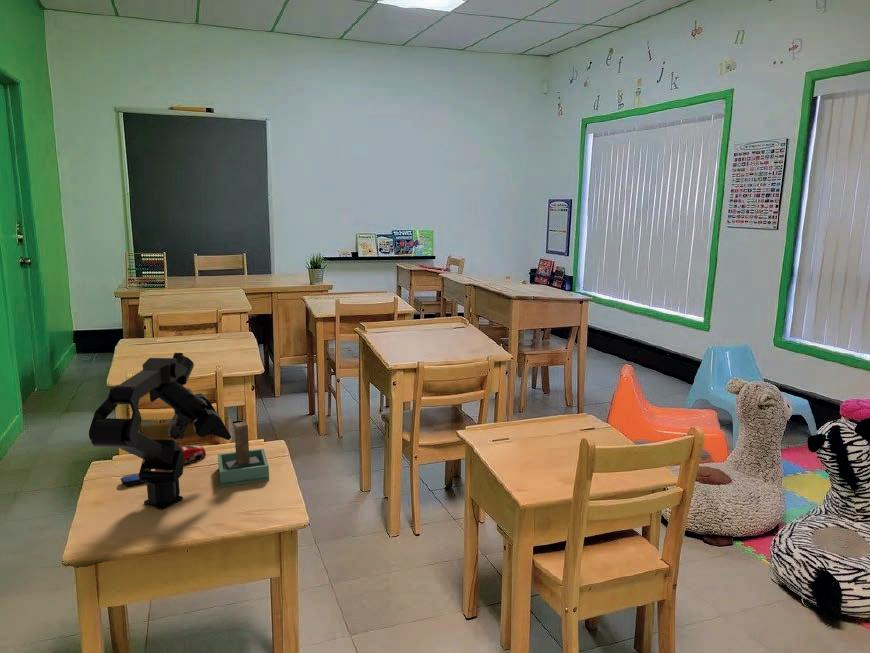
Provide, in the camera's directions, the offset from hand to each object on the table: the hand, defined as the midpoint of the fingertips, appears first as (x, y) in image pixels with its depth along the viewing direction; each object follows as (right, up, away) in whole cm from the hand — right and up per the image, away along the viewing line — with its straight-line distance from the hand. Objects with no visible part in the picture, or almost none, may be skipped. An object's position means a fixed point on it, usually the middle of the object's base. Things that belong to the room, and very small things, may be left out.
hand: (226, 432), depth 166 cm
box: (+3, -12, +5) cm, 13 cm away
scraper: (+3, -11, +4) cm, 12 cm away
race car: (-16, -11, +12) cm, 22 cm away
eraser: (-21, -13, 0) cm, 25 cm away
